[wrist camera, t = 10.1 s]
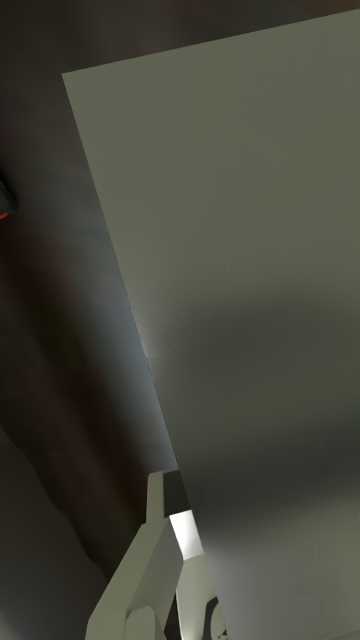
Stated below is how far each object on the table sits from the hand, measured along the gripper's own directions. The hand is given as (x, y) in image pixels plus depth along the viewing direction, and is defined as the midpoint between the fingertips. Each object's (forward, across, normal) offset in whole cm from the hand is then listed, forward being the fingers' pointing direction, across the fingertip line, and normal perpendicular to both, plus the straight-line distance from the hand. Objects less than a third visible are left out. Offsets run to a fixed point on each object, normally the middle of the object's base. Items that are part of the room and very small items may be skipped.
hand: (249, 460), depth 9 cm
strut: (+2, 0, +1) cm, 2 cm away
